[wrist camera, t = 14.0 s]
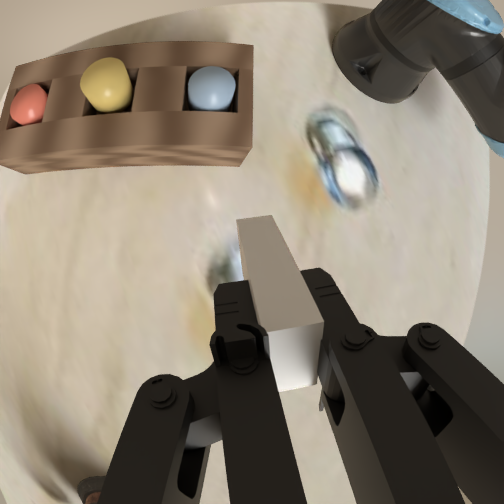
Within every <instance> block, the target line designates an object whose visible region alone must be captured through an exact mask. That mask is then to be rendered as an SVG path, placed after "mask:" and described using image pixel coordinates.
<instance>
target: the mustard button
mask: <svg viewBox="0 0 504 504" xmlns="http://www.w3.org/2000/svg"><path fill="white" fill-rule="evenodd" d="M80 87H81V90H82V92H83V93H84V95H85V96H86V97H87V99H88V100H89V101H90V103H91V104H92V105H93V107H94V108H95V110H96V111H97V112H98V113H99V114H101V115H102V114H113V113H121V112H123V111H124V110H125V109H126V108H128V106H129V105H130V104H131V102H132V100H133V97H134V89H133V86H132V84H131V81H130V78H129V76H128V73H127V70H126V68H125V65H124V63H123V62H122V61H121V60H119V59H117V58H112V57H108V58H103V59H100V60H98V61H96V62H94V63H93V64H91V65H90V66H89V67H88V68H87V69H86V70H85V72H84V73H83V75H82V77H81V81H80Z"/></svg>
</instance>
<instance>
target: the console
mask: <svg viewBox="0 0 504 504" xmlns="http://www.w3.org/2000/svg"><path fill="white" fill-rule="evenodd" d="M108 57H112V58H117V59H119V60H121V61H122V62H123V63H124V65H125V68H126V70H127V73H128V76H129V78H130V81H131V84H132V86H133V89H134V97H133V100H132V102H131V104H130V105H129V106H128V108H126V109H125V110H124V111H123V112H121V113H113V114H102V115H101V114H99V113H98V112H97V111H96V110H95V108H94V107H93V105H92V104H91V103H90V101H89V100H88V99H87V97H86V96H85V95H84V93H83V92H82V90H81V87H80V81H81V77H82V75H83V73H84V72H85V70H86V69H87V68H88V67H89V66H90V65H91V64H93V63H94V62H96V61H98V60H100V59H103V58H108ZM208 66H216V67H221V68H223V69H225V70H227V71H228V72H229V73H230V74H231V75H232V76H233V78H234V80H235V91H234V94H233V97H232V101H231V104H230V107H229V110H228V112H212V111H190V110H189V104H188V83H189V79H190V77H191V76H192V75H193V73H194V72H196V71H197V70H199V69H201V68H203V67H208ZM29 84H37V85H39V86H40V87H41V88H42V89H43V90H44V91H45V92H46V93H47V94H48V98H47V102H46V106H45V111H44V115H43V120H42V123H37V124H31V125H26V126H22V125H21V124H19V123H18V122H16V121H15V120H14V119H12V117H11V115H10V107H11V103H12V101H13V99H14V97H15V96H16V94H17V93H18V92H19V91H20V90H21V89H22V88H24V87H25V86H27V85H29ZM252 132H253V45H246V44H235V43H221V42H197V41H172V42H147V43H133V44H123V45H114V46H106V47H99V48H92V49H86V50H81V51H75V52H70V53H65V54H61V55H56V56H52V57H48V58H44V59H40V60H36V61H33V62H30V63H26V64H22V65H19V66H16V68H15V71H14V74H13V77H12V80H11V83H10V86H9V89H8V92H7V96H6V99H5V103H4V107H3V110H2V114H1V118H0V165H2V166H4V167H7V168H10V169H12V170H15V171H18V172H20V173H23V174H32V173H41V172H50V171H61V170H72V169H85V168H101V167H121V166H156V165H198V166H234V167H239V166H240V165H241V163H242V162H243V160H244V159H245V157H246V156H247V154H248V153H249V151H250V150H251V148H252Z"/></svg>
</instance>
